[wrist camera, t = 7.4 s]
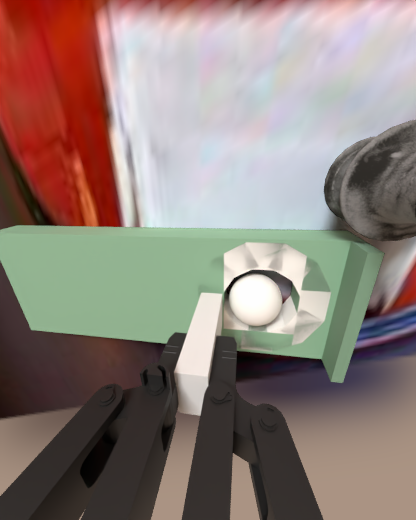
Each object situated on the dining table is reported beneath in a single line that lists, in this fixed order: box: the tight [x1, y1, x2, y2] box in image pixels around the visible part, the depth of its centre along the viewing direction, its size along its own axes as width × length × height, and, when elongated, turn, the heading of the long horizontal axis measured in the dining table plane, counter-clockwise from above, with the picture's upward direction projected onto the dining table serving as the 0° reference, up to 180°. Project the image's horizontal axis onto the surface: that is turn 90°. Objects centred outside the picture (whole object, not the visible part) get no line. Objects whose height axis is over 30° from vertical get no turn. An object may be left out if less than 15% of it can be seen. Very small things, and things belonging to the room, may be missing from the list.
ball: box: [229, 273, 282, 326], centre depth 17 cm, size 4×4×4 cm
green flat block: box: [0, 225, 385, 383], centre depth 18 cm, size 28×10×4 cm, turn 91°
